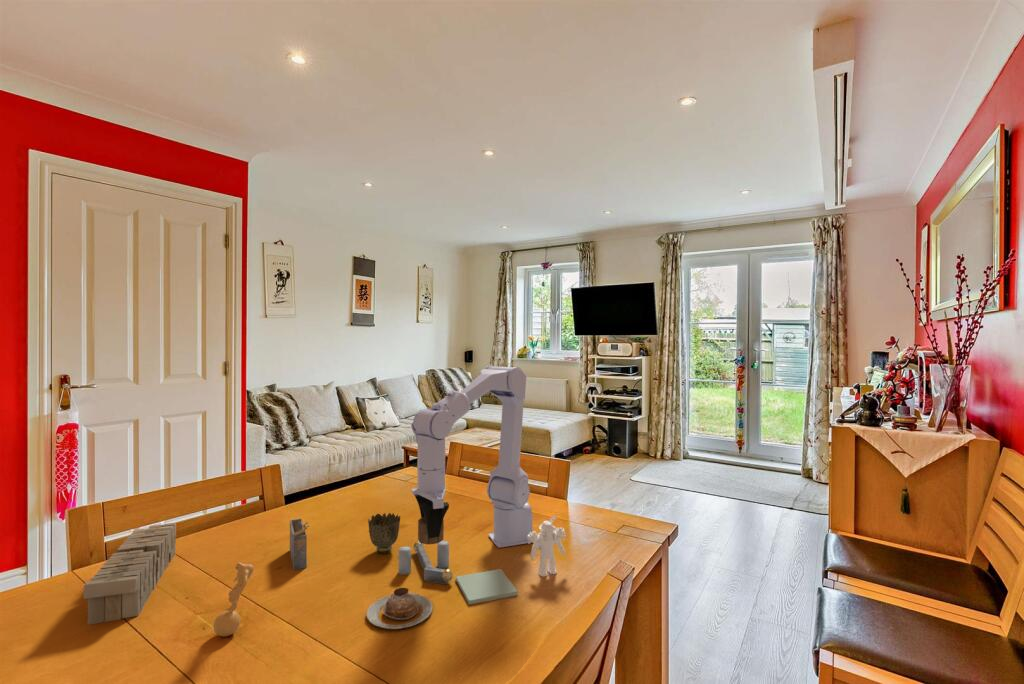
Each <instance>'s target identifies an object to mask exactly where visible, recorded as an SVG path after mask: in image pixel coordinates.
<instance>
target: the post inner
mask: <svg viewBox="0 0 1024 684" xmlns="http://www.w3.org/2000/svg"><path fill="white" fill-rule="evenodd" d="M436 544H437V546H436V547H437V548H436V550H437V551H436V552H437V553H436V556H437V557H436V561H437V562H436V563H437V564H436V565H437V566H436V568H438V569H447V568H448V567H449V566H450V542H449V541H447V540H442V541H441V542H439V543H436Z"/></svg>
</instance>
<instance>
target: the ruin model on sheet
mask: <svg viewBox="0 0 1024 684" xmlns="http://www.w3.org/2000/svg"><path fill="white" fill-rule="evenodd" d="M308 523H309V522H305V523H303V519H302V518H295V519H290V520H289V552H290V553H289V554H290V559H291V563H292V568H293V571H297V570H302V569H306V568H307V563H308V562H307V560H308V559H307V553H308V552H307V540H308V539H307V538H308V537H307V534H306V530H307V529H308V528H309V525H308Z"/></svg>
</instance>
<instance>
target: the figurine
mask: <svg viewBox="0 0 1024 684" xmlns="http://www.w3.org/2000/svg"><path fill="white" fill-rule="evenodd" d="M235 570H236V571H237V572H236V576H235V578H234V579H233V582H237V583H236V584H235V585H234V586H233V587H232V589H230V591H229V592H228V599H227V600H228V602H229V603H231V605H230V606H229V607H227V608H226V609H225V610H224V611H222V612H221V613H219V614H218V616H217V617H216V618H215V619H214V622H213V631H214V633H215V634H216V635H218V636H219V637H229V636H231V635H233V634H234V633H235V632H237V630H238V628H239V627H240V625H241V615H240V614H239V612H238V611H236V608H237V607H238V601H239V599H240V596H241V595H242V592H243V591H244V590H245V587H246V585H247V583H248V580H249V579H250V578H251V576H252V575H253V573H254V565H252V564H251V563H242V562H237V563H236V564H235Z"/></svg>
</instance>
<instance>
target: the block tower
mask: <svg viewBox="0 0 1024 684" xmlns="http://www.w3.org/2000/svg"><path fill="white" fill-rule="evenodd" d="M176 541H177V523H176V522H171V523H164V524H155V525H150V526H148V527H146V528H138V529H134V530H133V531H132V532H131V533H130V534H129V535H128V536H127V538H126V539H125V540H124V542H123V543H122V544H121V545H120V546H118V548H117V549H116V552H114V553H112V554H111V555H110V557H109V558H108V559H107V560H106V561H105V562H104V563H103V565H102V566H101V567H100V568H99V570H98V571H97V572H96V573H95V574H94V576H93V577H91V579H90V581H86V583H84V586H83V599H84V600H85V599H86V600H87V626H90V625H94V624H101V623H105V622H114V621H119V620H122V619H129V618H133V617H137V616H139V615H140V614H141V613H142V611H143V609H144V607H145V605H146V603H147V602H148V600H149V598H150V596H151V594H152V593H153V591H154V590H155V589H156V587H157V584H158V583H159V581H160V579H161V578H162V577H163V575H164V573H165V571H166V570H167V568H168V567H169V563H171V562H172V560H173V559H174V557H175V556H176V552H177V551H176V543H177V542H176Z"/></svg>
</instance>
